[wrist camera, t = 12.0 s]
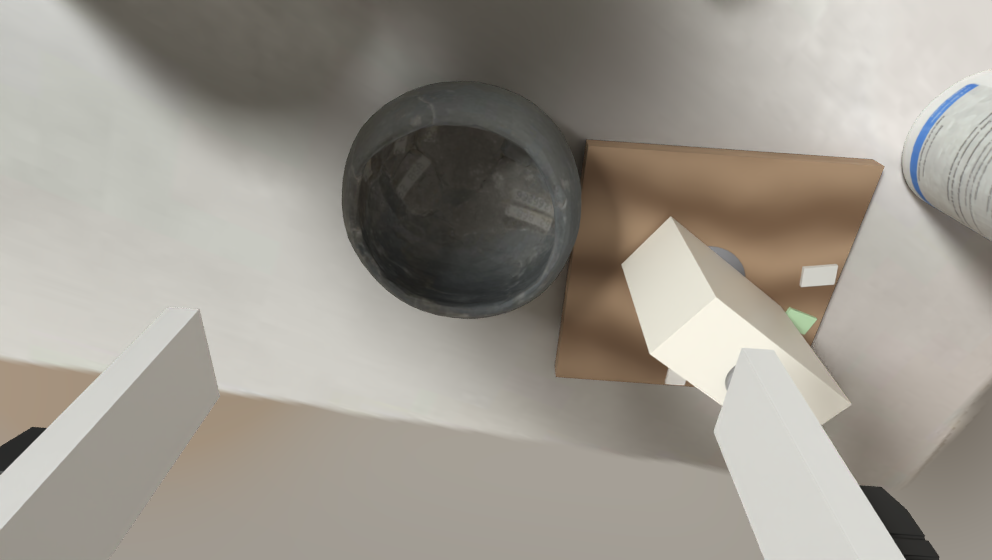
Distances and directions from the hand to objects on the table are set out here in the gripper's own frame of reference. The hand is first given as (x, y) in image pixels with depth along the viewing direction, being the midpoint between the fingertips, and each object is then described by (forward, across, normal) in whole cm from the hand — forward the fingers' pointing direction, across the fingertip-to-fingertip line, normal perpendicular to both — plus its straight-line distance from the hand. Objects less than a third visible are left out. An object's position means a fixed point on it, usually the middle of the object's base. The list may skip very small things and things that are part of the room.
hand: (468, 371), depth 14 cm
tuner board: (+29, +16, -12) cm, 35 cm away
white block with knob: (+27, +18, -13) cm, 35 cm away
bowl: (+29, -2, -5) cm, 29 cm away
